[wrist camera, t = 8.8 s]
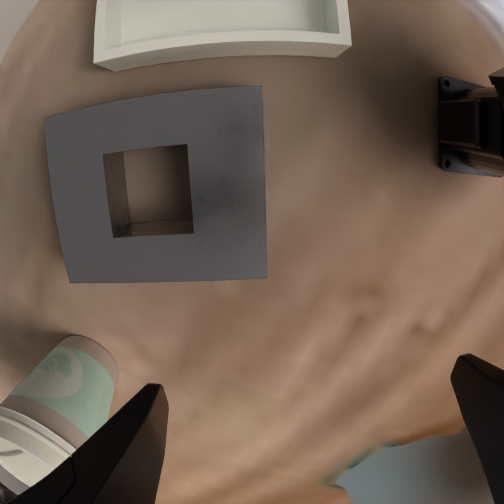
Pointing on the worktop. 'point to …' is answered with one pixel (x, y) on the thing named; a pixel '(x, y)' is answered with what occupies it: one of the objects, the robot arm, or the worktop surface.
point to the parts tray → (216, 30)
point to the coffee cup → (56, 408)
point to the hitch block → (201, 185)
